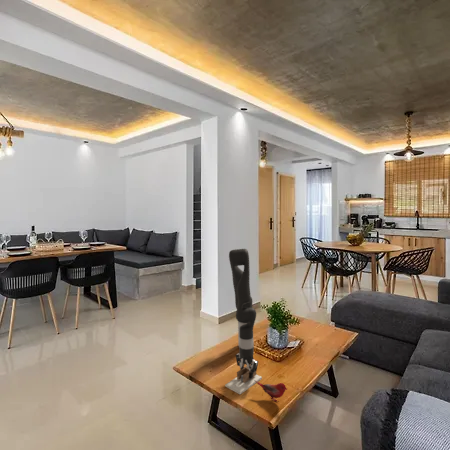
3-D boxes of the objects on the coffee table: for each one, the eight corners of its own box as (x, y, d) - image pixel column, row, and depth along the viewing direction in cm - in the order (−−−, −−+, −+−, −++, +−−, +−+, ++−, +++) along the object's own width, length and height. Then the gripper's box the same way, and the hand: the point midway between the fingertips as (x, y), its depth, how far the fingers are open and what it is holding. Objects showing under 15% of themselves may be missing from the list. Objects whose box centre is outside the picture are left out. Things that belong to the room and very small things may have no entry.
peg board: (247, 371, 171) (247, 364, 171) (261, 378, 164) (261, 371, 164) (225, 386, 158) (225, 379, 158) (240, 394, 151) (240, 386, 151)
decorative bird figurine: (285, 407, 141) (285, 386, 140) (252, 393, 152) (252, 374, 151) (288, 404, 143) (288, 383, 143) (255, 390, 154) (255, 371, 153)
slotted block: (244, 383, 158) (244, 375, 157) (237, 379, 161) (236, 372, 161) (256, 374, 165) (256, 367, 164) (249, 371, 168) (248, 364, 168)
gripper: (261, 346, 159) (262, 378, 161) (240, 338, 169) (241, 368, 171) (252, 352, 154) (253, 384, 155) (231, 343, 164) (232, 374, 165)
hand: (246, 376), depth 163 cm, fingers closed on slotted block, 5 cm apart
